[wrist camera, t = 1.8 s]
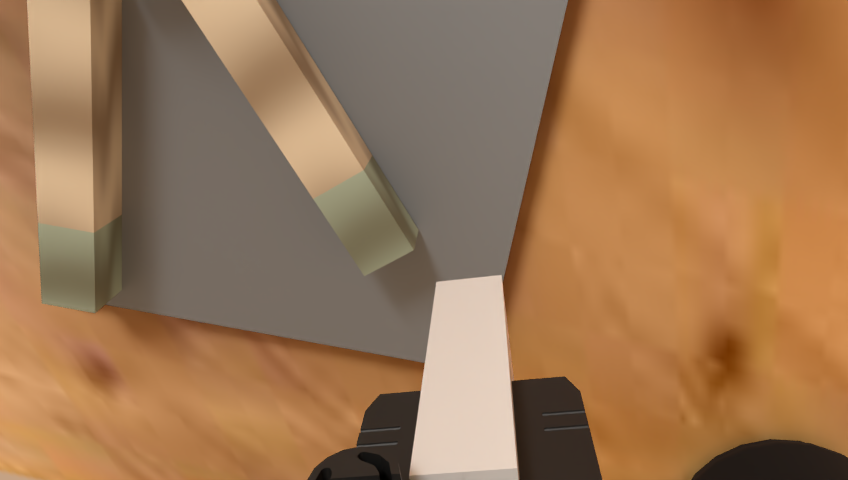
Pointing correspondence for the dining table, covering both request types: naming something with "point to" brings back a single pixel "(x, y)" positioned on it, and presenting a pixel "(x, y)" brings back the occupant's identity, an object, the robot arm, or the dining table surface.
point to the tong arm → (309, 126)
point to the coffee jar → (776, 463)
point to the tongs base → (77, 148)
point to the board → (286, 194)
